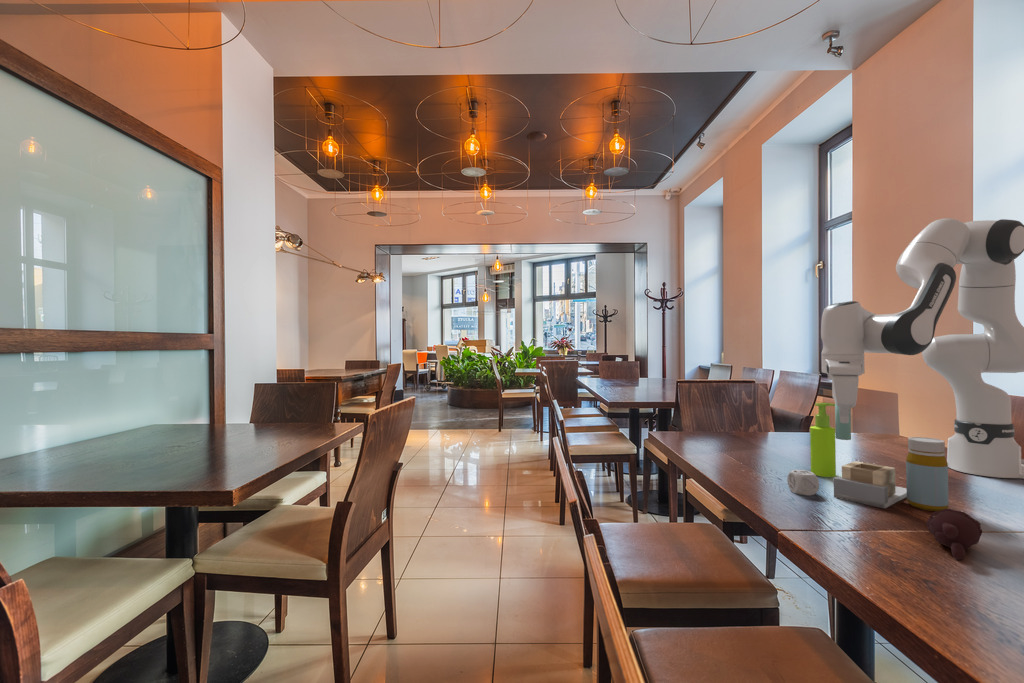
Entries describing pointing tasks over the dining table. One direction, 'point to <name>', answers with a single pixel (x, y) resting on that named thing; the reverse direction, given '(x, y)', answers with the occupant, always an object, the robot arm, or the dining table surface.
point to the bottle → (927, 474)
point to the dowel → (842, 426)
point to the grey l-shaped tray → (867, 492)
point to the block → (871, 474)
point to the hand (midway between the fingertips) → (843, 421)
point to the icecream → (954, 530)
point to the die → (803, 482)
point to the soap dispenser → (823, 444)
